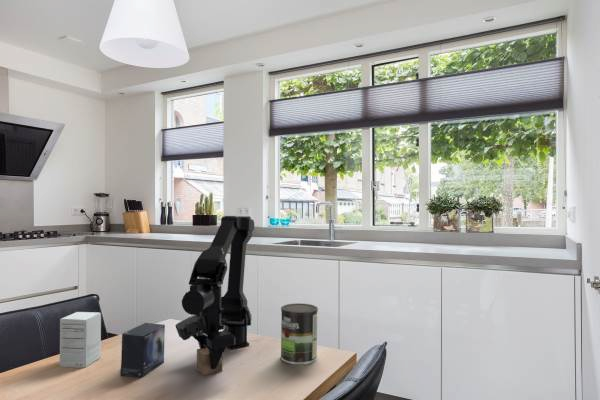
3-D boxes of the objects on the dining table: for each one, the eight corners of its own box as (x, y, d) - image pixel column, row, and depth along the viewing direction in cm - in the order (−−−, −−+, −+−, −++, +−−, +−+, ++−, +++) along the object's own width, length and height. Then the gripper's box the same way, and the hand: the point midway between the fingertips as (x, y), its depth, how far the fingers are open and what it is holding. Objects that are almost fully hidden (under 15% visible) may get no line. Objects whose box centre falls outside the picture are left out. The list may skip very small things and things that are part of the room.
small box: (143, 378, 100) (143, 335, 100) (119, 376, 101) (120, 333, 101) (165, 362, 110) (166, 323, 110) (143, 360, 111) (144, 322, 112)
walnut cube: (214, 364, 109) (214, 345, 109) (222, 370, 104) (222, 351, 105) (196, 368, 106) (196, 349, 106) (203, 375, 102) (203, 355, 102)
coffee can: (300, 368, 106) (300, 314, 107) (273, 358, 113) (273, 307, 114) (325, 357, 114) (325, 307, 114) (298, 349, 121) (298, 301, 121)
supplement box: (76, 356, 114) (76, 311, 114) (101, 357, 113) (102, 312, 113) (58, 367, 106) (59, 318, 107) (85, 368, 106) (86, 319, 106)
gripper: (168, 301, 109) (167, 360, 108) (192, 317, 93) (191, 386, 93) (207, 296, 115) (207, 352, 115) (236, 311, 99) (236, 375, 99)
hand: (209, 365), depth 105 cm, fingers closed on walnut cube, 5 cm apart
